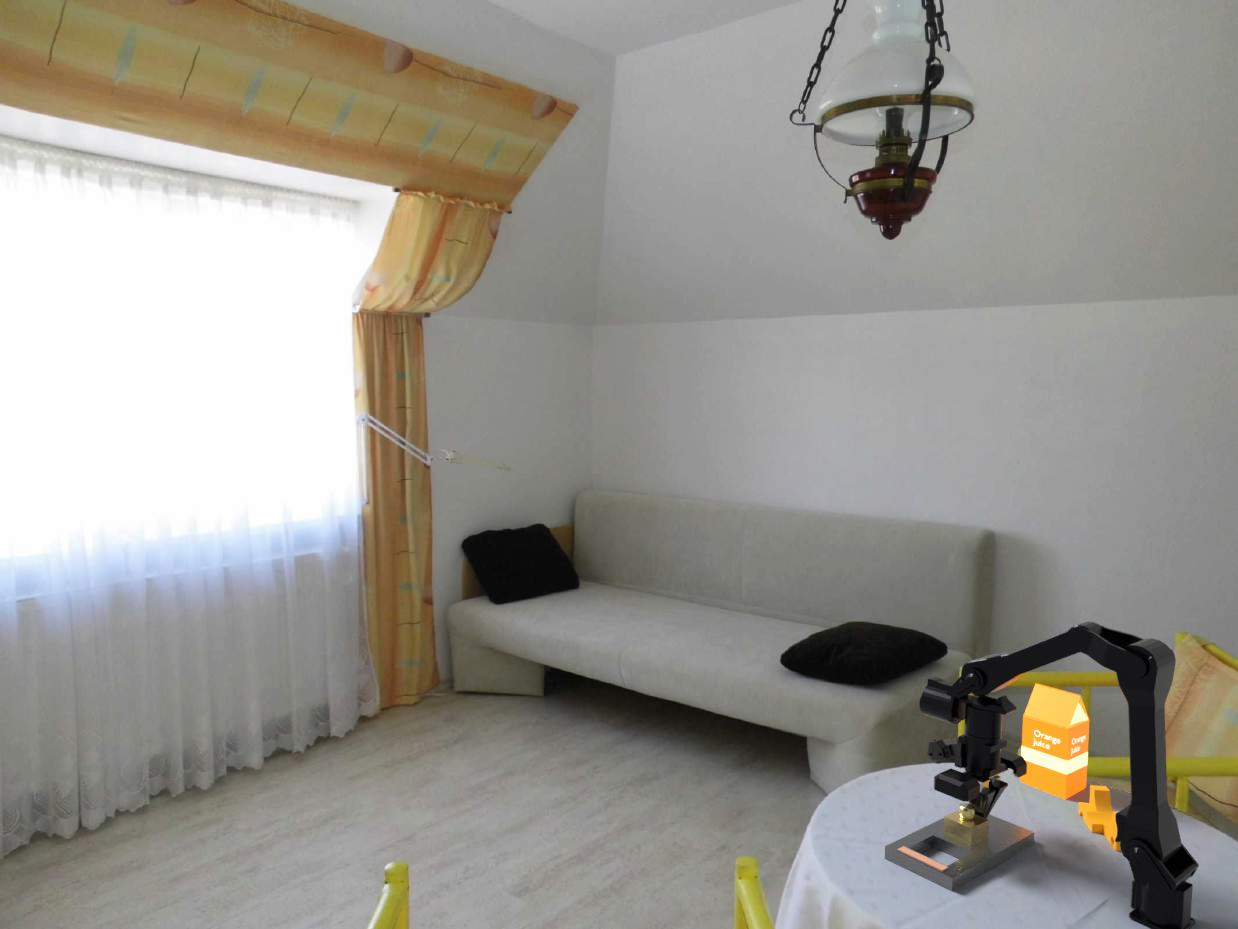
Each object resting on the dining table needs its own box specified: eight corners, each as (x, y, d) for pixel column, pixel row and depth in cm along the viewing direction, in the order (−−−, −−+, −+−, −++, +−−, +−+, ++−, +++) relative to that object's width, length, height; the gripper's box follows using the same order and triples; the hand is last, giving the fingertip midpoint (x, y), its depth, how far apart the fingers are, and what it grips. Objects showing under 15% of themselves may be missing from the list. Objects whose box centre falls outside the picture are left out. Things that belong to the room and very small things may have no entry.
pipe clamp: (1077, 819, 159) (1079, 784, 159) (1104, 821, 159) (1105, 786, 158) (1104, 854, 148) (1106, 815, 147) (1132, 856, 147) (1134, 817, 146)
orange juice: (1064, 806, 164) (1070, 699, 163) (1018, 789, 171) (1023, 686, 170) (1086, 796, 169) (1091, 691, 167) (1040, 779, 176) (1045, 679, 174)
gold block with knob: (988, 837, 148) (989, 808, 148) (970, 846, 145) (972, 816, 145) (960, 825, 152) (962, 797, 152) (943, 834, 149) (944, 805, 149)
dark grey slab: (1033, 844, 150) (1034, 831, 150) (951, 891, 136) (952, 877, 135) (967, 817, 160) (968, 804, 160) (884, 858, 145) (885, 845, 145)
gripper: (970, 707, 161) (967, 791, 163) (907, 730, 150) (904, 820, 152) (1030, 725, 153) (1026, 814, 154) (968, 751, 141) (964, 847, 143)
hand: (979, 823), depth 151 cm, fingers closed
